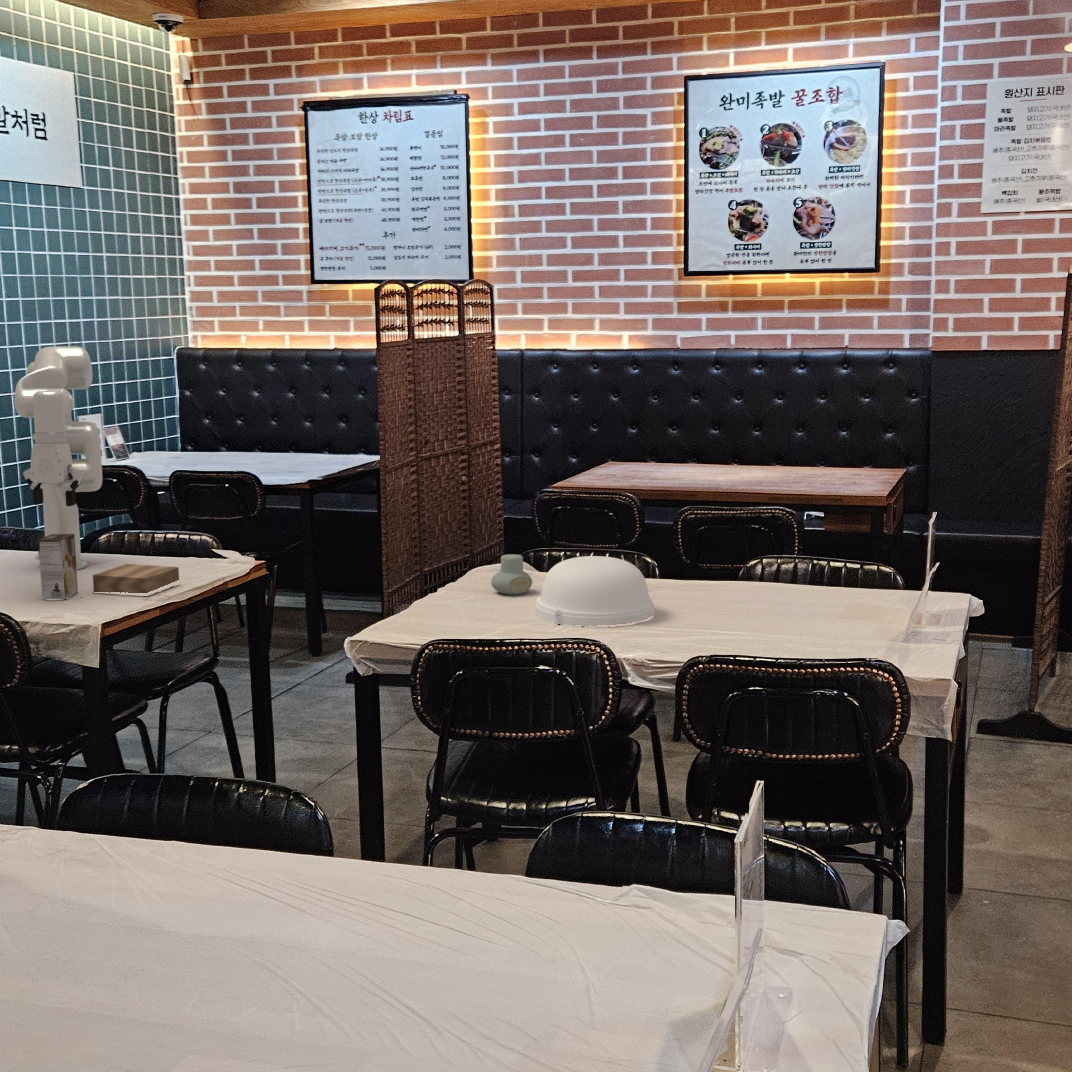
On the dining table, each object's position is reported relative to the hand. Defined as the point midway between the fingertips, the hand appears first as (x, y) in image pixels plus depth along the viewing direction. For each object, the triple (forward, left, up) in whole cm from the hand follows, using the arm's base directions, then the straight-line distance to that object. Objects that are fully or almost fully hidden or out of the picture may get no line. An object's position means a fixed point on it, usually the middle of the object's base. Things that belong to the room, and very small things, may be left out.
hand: (54, 504), depth 342 cm
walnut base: (+14, +14, -24) cm, 31 cm away
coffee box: (0, 0, -25) cm, 25 cm away
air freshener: (+112, +39, -25) cm, 121 cm away
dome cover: (+139, +22, -25) cm, 143 cm away
